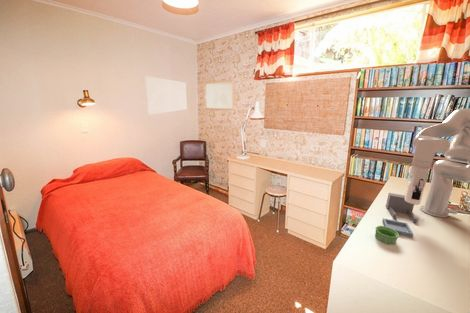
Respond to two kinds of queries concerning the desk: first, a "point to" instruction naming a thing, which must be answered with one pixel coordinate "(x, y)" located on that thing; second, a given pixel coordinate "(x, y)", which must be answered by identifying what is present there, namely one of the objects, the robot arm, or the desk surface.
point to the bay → (399, 206)
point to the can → (409, 195)
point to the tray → (398, 227)
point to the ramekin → (386, 235)
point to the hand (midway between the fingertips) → (413, 196)
